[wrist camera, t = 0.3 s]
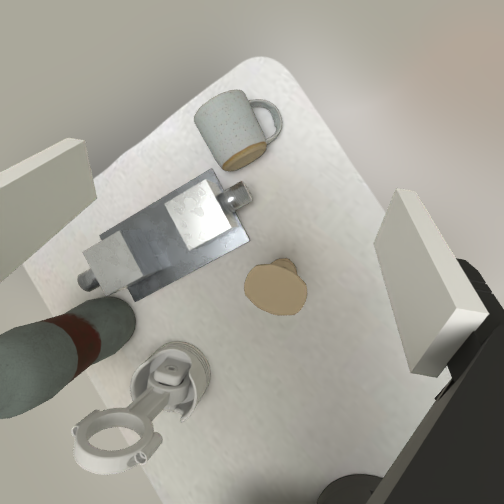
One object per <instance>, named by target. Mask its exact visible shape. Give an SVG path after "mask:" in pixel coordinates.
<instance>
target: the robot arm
mask: <svg viewBox="0 0 504 504" xmlns="http://www.w3.org/2000/svg"><path fill="white" fill-rule="evenodd" d="M96 199H97V195H96V191H95V186H94V181H93V177H92V172H91V167H90V163H89V158H88V153H87V149H86V144H85V141H84V140H79V139H72V138H66V139H64V140H62V141H60V142H58V143H57V144H55V145H53V146H51V147H49V148H47V149H45V150H43V151H41V152H39V153H37V154H35V155H33V156H31V157H29V158H27V159H25V160H23V161H22V162H20V163H18V164H16V165H14V166H12V167H10V168H8V169H6V170H4V171H2V172H0V283H1V282H2V281H3V280H4V279H5V278H7V277H8V276H9V275H10V274H11V273H12V272H13V271H15V270H16V269H17V268H18V267H19V266H20V265H21V264H23V263H24V262H25V261H26V260H27V259H28V258H29V257H31V256H32V255H33V254H34V253H35V252H36V251H37V250H39V249H40V248H41V247H42V246H43V245H44V244H45V243H47V242H48V241H49V240H50V239H51V238H52V237H53V236H55V235H56V234H57V233H58V232H59V231H60V230H61V229H63V228H64V227H65V226H66V225H67V224H68V223H69V222H71V221H72V220H73V219H74V218H75V217H76V216H77V215H79V214H80V213H81V212H82V211H83V210H84V209H85V208H87V207H88V206H89V205H90V204H91V203H92V202H93V201H95V200H96ZM374 247H375V250H376V254H377V257H378V261H379V264H380V268H381V271H382V275H383V278H384V282H385V285H386V289H387V292H388V296H389V299H390V303H391V306H392V310H393V313H394V317H395V320H396V324H397V327H398V331H399V334H400V338H401V341H402V345H403V348H404V352H405V355H406V359H407V362H408V366H409V369H410V373H414V374H420V375H425V376H431V377H436V378H437V377H438V376H439V375H440V373H441V372H442V371H443V370H444V369H445V367H446V366H448V369H449V371H450V374H451V376H452V379H451V380H450V381H449V382H448V384H447V385H446V386H445V387H444V388H443V389H442V391H441V392H440V393H439V394H438V395H437V396H436V397H435V399H436V401H435V403H434V404H433V405H432V407H431V408H430V410H429V411H428V413H427V414H426V416H425V417H424V419H423V420H422V422H421V423H420V425H419V426H418V428H417V429H416V431H415V432H414V433H413V435H412V436H411V438H410V439H409V441H408V442H407V444H406V445H405V447H404V448H403V450H402V451H401V453H400V454H399V456H398V457H397V459H396V460H395V462H394V463H393V464H392V466H391V467H390V469H389V470H388V472H387V473H386V475H385V476H384V478H383V479H381V478H378V477H374V476H370V475H352V476H347V477H343V478H341V479H338V480H336V481H335V482H333V483H332V484H330V485H329V486H328V487H327V488H326V489H325V490H324V491H323V492H322V494H321V495H320V497H319V499H318V502H317V504H504V309H503V308H502V306H501V305H500V303H499V302H498V300H497V299H496V297H495V296H494V294H492V291H491V290H490V288H489V287H488V285H487V284H485V283H486V282H485V281H484V279H483V278H482V276H481V274H480V273H479V272H478V270H476V269H475V268H474V267H473V266H472V265H471V264H469V263H468V262H467V261H466V260H462V259H457V258H455V256H454V255H453V253H452V251H451V250H450V248H449V246H448V245H447V243H446V242H445V240H444V238H443V236H442V235H441V233H440V232H439V230H438V228H437V227H436V225H435V223H434V222H433V220H432V218H431V217H430V215H429V213H428V212H427V210H426V208H425V207H424V205H423V203H422V202H421V200H420V198H419V197H418V195H417V194H416V192H415V191H410V190H403V189H396V190H395V192H394V195H393V197H392V200H391V202H390V205H389V207H388V210H387V212H386V214H385V217H384V219H383V222H382V224H381V227H380V229H379V231H378V234H377V236H376V239H375V241H374Z"/></svg>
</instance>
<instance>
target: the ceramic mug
mask: <svg viewBox="0 0 504 504" xmlns="http://www.w3.org/2000/svg"><path fill="white" fill-rule="evenodd" d="M253 106H261V107H264V108H266V109H268V110H269V111H270V112H271V115H272V117H273V120H274V123H275V124H274V125H275V127H276V132H275V134H274V135H272V136H271V137H269V138H267V139H265V136H264V134H263V131H262V130H261V128H260V126H259V124H258V121H257V119H256V117H255V115H254V112H253V110H252V108H251V107H253ZM194 122H195V124H196V126H197V128H198V129H199V131H200V133H201V135H202V137H203V139H204V140H205V142H206V144H207V145H208V147H209V149H210V151H211V152H212V154H213V156H214V158H215V160H216V161H217V163H218V164H219V165H220V167H221V168H222V169H223V170H225V171H234V170H237V169H239V168H242V167H244V166H246V165H247V164H249V163H251V162H253V161H254V160H256V159H257V158H258V157H260V156H261V155H262V154H263V153H264V151H265V150H266V147H267V144H268V143H270V142H271V141H273V140H274V139H275V138H276V137H277V135H278V134H279V132H280V130H281V127H282V119H281V115H280V113H279V111H278V109H277V107H276V106H275V105H274V104H272V103H271V102H269V101H266V100H262V99H255V100H249V101H248V99H247V97H246V95H245V93H244V92H243V91H241V90H230V91H227V92H224V93H221V94H219V95H217V96H215V97H213V98H212V99H210V100H209V101H208V102H206V103H205V104H203V105H202V106H201V107H200V108H199V109H198V111H197V112H196V114H195V116H194Z"/></svg>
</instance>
